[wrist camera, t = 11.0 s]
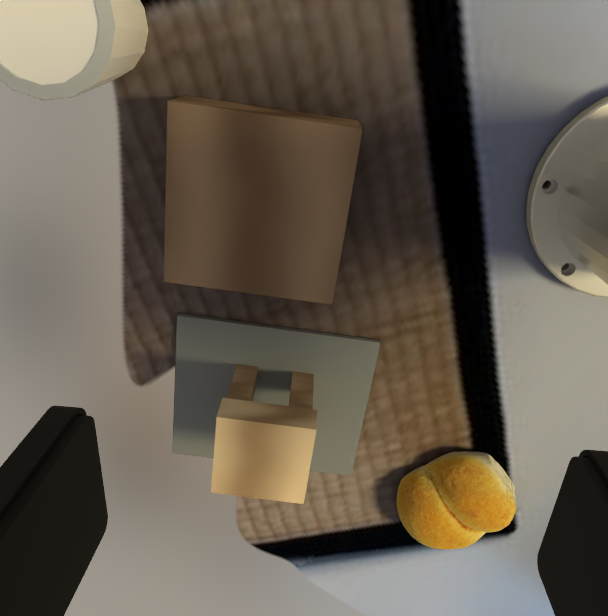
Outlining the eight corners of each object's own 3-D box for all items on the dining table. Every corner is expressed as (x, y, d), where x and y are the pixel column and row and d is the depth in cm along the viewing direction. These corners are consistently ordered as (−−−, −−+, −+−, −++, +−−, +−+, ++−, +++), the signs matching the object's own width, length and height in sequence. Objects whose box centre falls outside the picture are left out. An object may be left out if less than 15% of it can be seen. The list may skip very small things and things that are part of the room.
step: (358, 120, 31) (362, 128, 27) (331, 278, 35) (332, 304, 32) (185, 95, 31) (167, 100, 27) (180, 258, 35) (163, 281, 31)
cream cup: (100, 117, 31) (44, 132, 25) (8, 12, 29) (-80, 0, 23) (185, 35, 29) (147, 30, 23) (92, -84, 27) (22, -126, 21)
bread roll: (375, 484, 43) (380, 523, 39) (473, 429, 40) (488, 466, 37) (432, 543, 45) (441, 585, 42) (527, 496, 43) (546, 537, 39)
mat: (380, 339, 37) (380, 342, 37) (350, 472, 42) (351, 475, 42) (178, 312, 37) (177, 315, 36) (173, 449, 42) (172, 453, 41)
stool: (317, 371, 38) (316, 429, 32) (306, 438, 40) (303, 503, 34) (233, 360, 38) (216, 417, 32) (227, 428, 40) (211, 492, 34)
